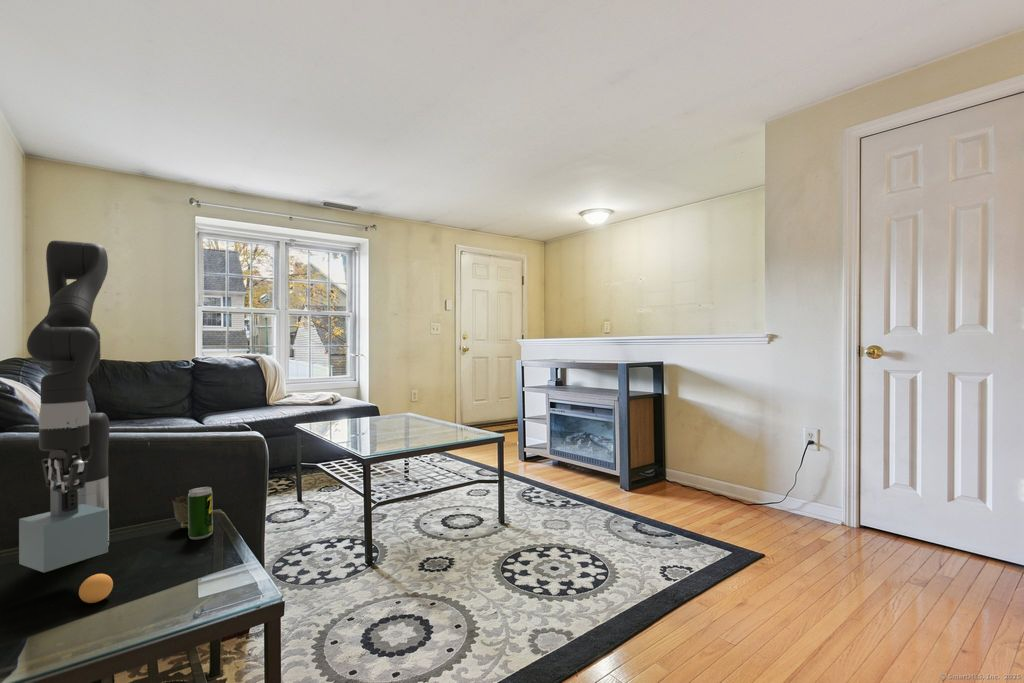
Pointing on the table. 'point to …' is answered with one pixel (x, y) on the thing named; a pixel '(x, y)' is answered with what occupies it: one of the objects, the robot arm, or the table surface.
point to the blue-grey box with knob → (62, 535)
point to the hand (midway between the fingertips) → (65, 509)
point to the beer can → (200, 513)
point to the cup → (181, 510)
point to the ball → (95, 588)
